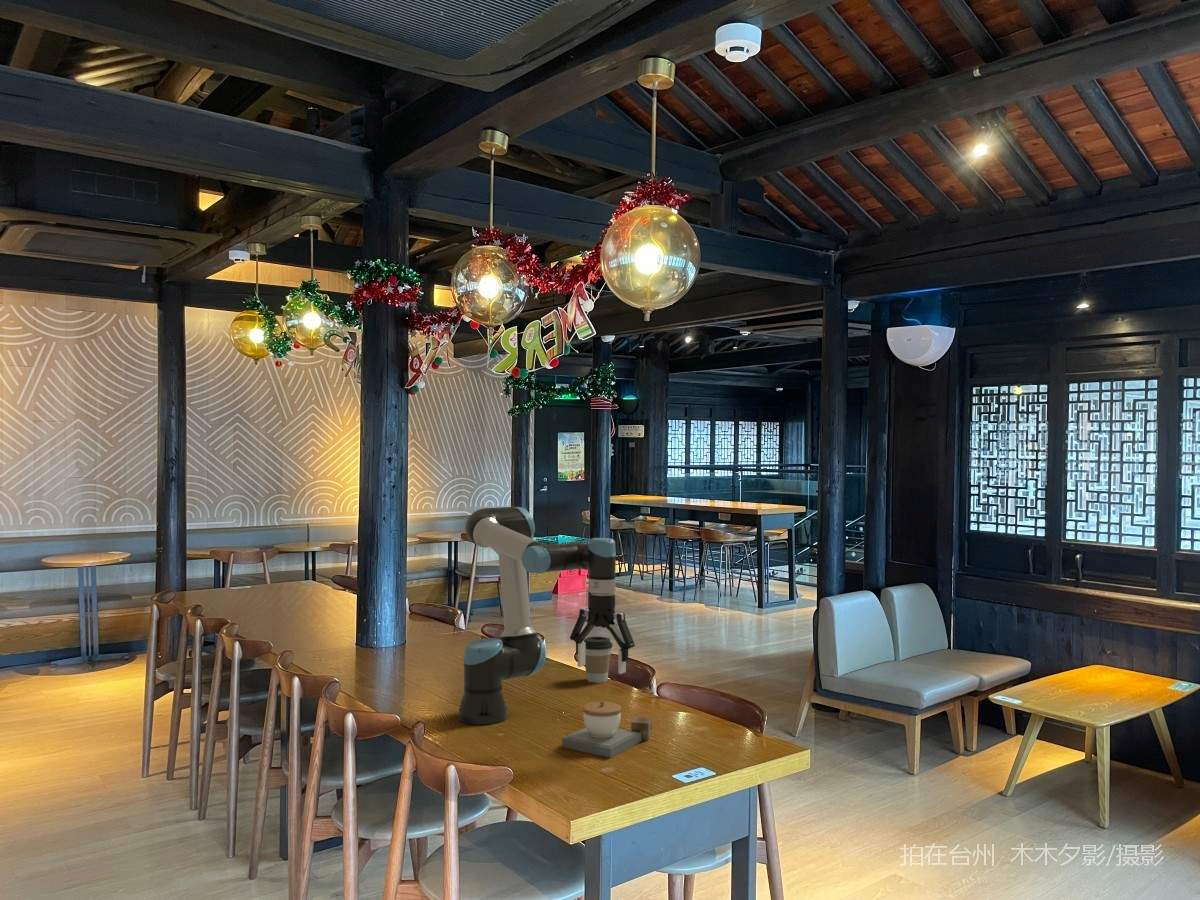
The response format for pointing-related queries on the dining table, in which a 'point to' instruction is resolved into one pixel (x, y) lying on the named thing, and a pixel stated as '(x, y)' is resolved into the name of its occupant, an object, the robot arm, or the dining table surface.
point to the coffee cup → (597, 658)
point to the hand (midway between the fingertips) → (601, 669)
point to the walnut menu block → (642, 727)
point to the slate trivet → (601, 742)
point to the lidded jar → (602, 718)
